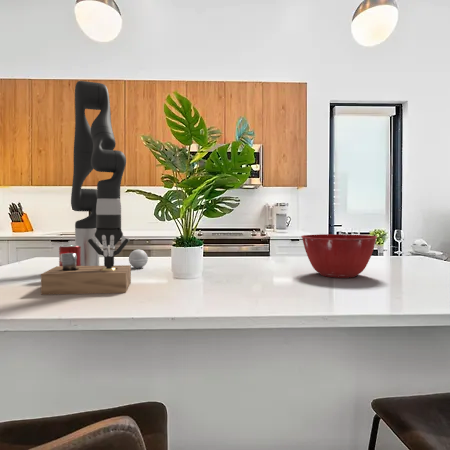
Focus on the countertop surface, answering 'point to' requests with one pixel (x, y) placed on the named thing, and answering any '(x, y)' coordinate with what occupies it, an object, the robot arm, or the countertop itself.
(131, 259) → the bath bomb
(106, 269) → the brass peg
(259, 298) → the countertop surface
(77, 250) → the soda can
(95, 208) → the robot arm
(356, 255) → the mixing bowl
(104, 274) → the socket block
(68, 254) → the graphite peg
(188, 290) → the countertop surface
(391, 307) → the countertop surface
